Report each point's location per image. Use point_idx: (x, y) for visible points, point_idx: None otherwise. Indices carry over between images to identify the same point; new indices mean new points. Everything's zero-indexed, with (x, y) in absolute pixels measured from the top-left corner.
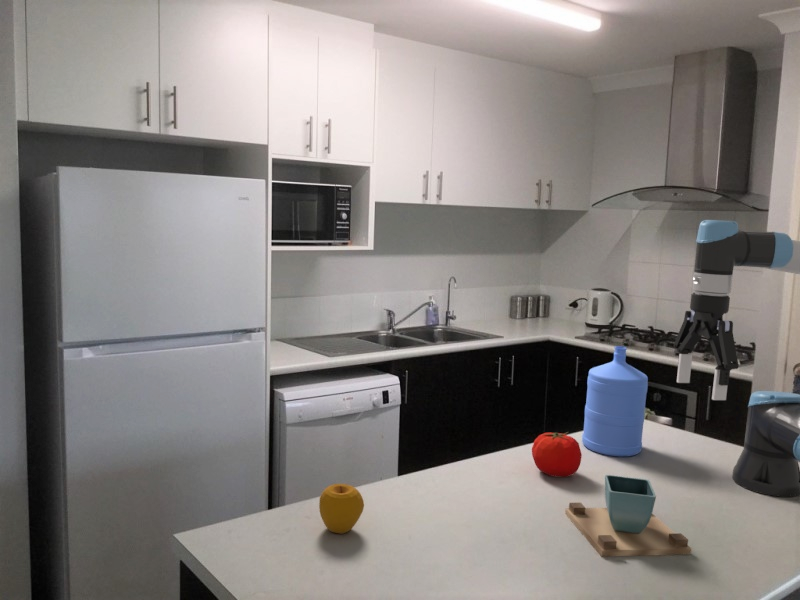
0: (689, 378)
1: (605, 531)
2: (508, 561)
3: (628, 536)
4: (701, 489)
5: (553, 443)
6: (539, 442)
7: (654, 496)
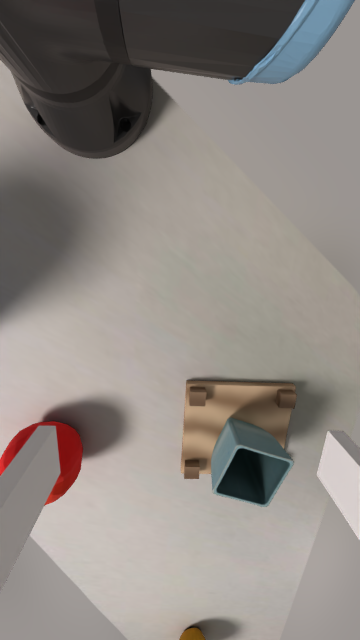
0: (44, 445)
1: None
2: (266, 539)
3: None
4: (113, 248)
5: (55, 498)
6: None
7: (293, 463)
